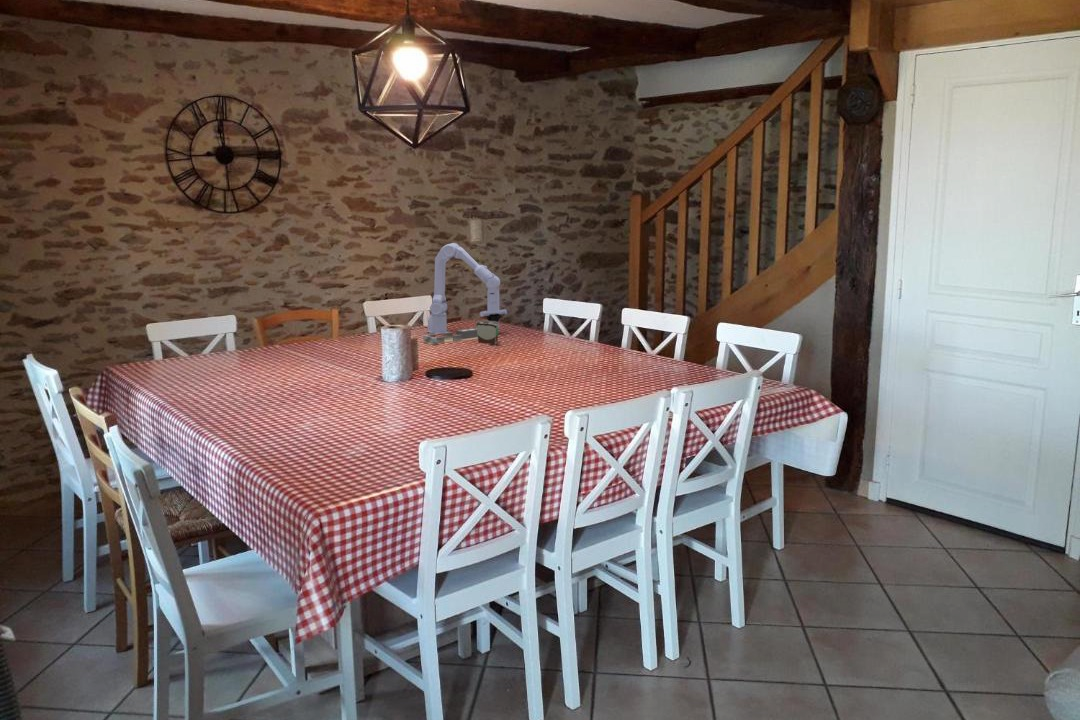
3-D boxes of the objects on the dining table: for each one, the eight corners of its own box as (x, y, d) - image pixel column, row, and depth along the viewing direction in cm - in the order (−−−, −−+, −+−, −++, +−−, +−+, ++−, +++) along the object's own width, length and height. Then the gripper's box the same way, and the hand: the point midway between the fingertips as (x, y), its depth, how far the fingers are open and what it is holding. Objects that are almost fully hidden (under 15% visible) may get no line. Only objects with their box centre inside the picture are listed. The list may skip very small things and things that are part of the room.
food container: (505, 343, 380) (505, 322, 378) (497, 346, 375) (497, 324, 373) (483, 341, 386) (483, 319, 384) (475, 343, 381) (475, 321, 379)
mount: (421, 342, 382) (420, 335, 381) (480, 334, 402) (480, 328, 402) (432, 345, 374) (432, 338, 374) (492, 337, 395) (492, 331, 394)
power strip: (456, 337, 391) (456, 330, 390) (481, 334, 399) (481, 327, 398) (461, 339, 387) (461, 331, 386) (486, 336, 396) (486, 328, 395)
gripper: (485, 304, 390) (485, 332, 393) (510, 301, 399) (510, 329, 402) (477, 302, 395) (477, 330, 398) (501, 299, 404) (502, 327, 407)
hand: (493, 329), depth 400 cm, fingers closed
